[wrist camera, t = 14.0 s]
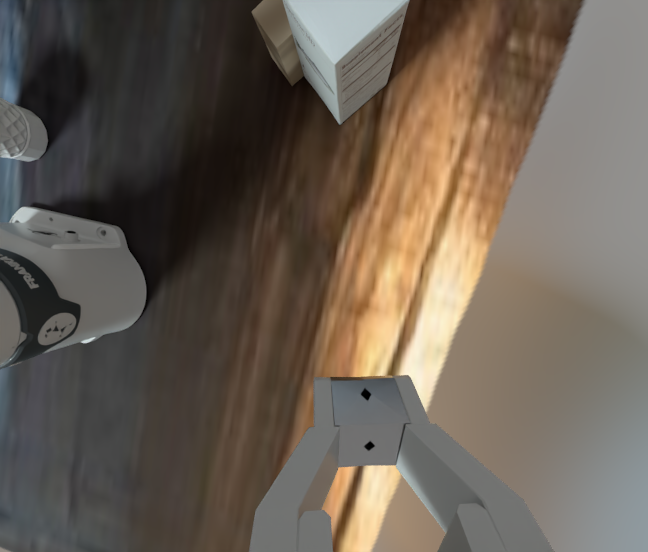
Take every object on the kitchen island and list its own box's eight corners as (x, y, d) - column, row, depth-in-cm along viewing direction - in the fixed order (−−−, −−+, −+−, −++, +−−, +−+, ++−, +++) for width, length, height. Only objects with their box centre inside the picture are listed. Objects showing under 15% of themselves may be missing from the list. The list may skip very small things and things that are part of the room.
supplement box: (302, 77, 33) (274, -17, 20) (352, 32, 31) (353, -99, 19) (339, 128, 33) (333, 66, 21) (389, 85, 32) (414, -8, 19)
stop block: (359, 26, 31) (361, -33, 24) (292, 86, 33) (276, 48, 26) (338, -5, 31) (335, -72, 24) (272, 58, 32) (251, 11, 26)
